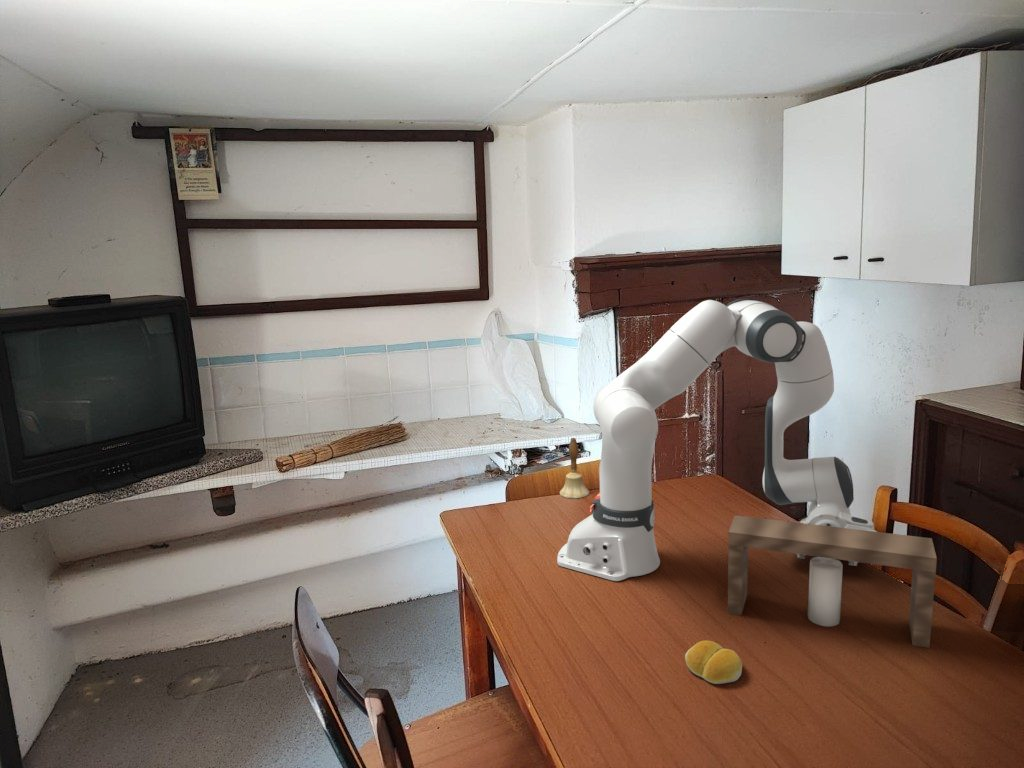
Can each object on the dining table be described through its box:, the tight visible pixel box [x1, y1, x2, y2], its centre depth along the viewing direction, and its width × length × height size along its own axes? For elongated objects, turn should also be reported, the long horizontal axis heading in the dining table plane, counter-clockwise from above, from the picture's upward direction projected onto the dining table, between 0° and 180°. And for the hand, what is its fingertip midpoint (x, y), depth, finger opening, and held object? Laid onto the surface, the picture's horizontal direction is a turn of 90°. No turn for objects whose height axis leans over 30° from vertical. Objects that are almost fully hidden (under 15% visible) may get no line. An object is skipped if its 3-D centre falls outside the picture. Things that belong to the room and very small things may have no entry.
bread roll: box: [684, 640, 743, 685], centre depth 117 cm, size 8×9×4 cm
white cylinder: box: [807, 556, 844, 628], centre depth 128 cm, size 5×5×11 cm
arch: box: [727, 515, 938, 649], centre depth 128 cm, size 33×8×16 cm, turn 65°
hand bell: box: [559, 437, 590, 499], centre depth 195 cm, size 8×8×16 cm
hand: (826, 558), depth 139 cm, fingers open, 8 cm apart
